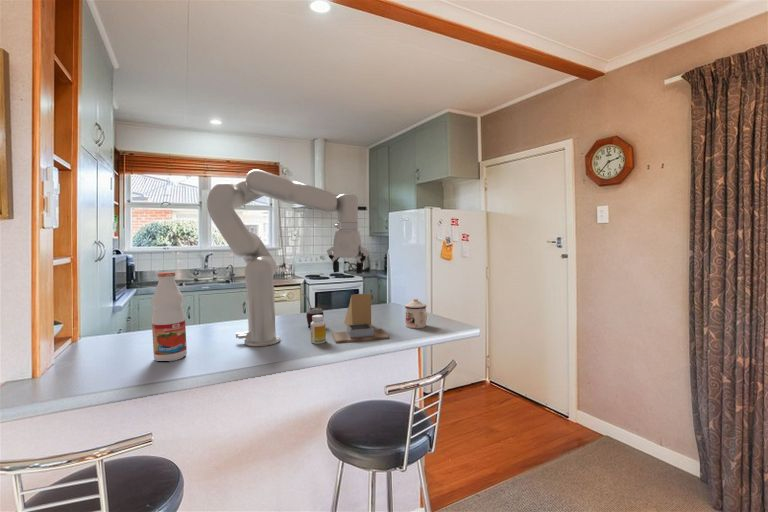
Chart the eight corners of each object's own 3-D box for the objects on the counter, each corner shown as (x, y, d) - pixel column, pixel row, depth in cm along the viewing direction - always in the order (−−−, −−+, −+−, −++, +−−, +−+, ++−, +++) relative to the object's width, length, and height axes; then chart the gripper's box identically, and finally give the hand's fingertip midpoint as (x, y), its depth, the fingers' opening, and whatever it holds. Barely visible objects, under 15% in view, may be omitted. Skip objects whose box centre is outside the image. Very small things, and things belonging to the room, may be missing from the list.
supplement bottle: (328, 341, 140) (328, 315, 139) (319, 344, 135) (318, 318, 135) (317, 339, 143) (316, 313, 142) (307, 342, 138) (307, 316, 137)
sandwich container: (362, 320, 172) (361, 288, 171) (372, 328, 157) (371, 293, 156) (343, 322, 169) (342, 289, 168) (352, 330, 154) (351, 294, 153)
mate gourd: (325, 325, 164) (324, 290, 163) (321, 329, 156) (320, 293, 155) (308, 325, 164) (307, 291, 163) (303, 329, 156) (302, 294, 156)
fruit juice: (180, 351, 130) (176, 270, 128) (191, 357, 124) (187, 272, 122) (149, 358, 123) (144, 273, 121) (160, 364, 117) (155, 274, 115)
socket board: (335, 343, 137) (335, 332, 137) (332, 334, 149) (332, 325, 148) (389, 338, 142) (389, 328, 142) (381, 330, 153) (381, 321, 153)
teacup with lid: (400, 325, 162) (400, 298, 161) (418, 322, 166) (418, 296, 166) (417, 331, 151) (416, 302, 151) (435, 328, 156) (435, 300, 155)
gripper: (322, 227, 142) (322, 272, 143) (364, 227, 135) (364, 274, 136) (332, 227, 149) (332, 270, 150) (372, 227, 142) (372, 272, 143)
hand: (347, 272), depth 143 cm, fingers open, 9 cm apart
